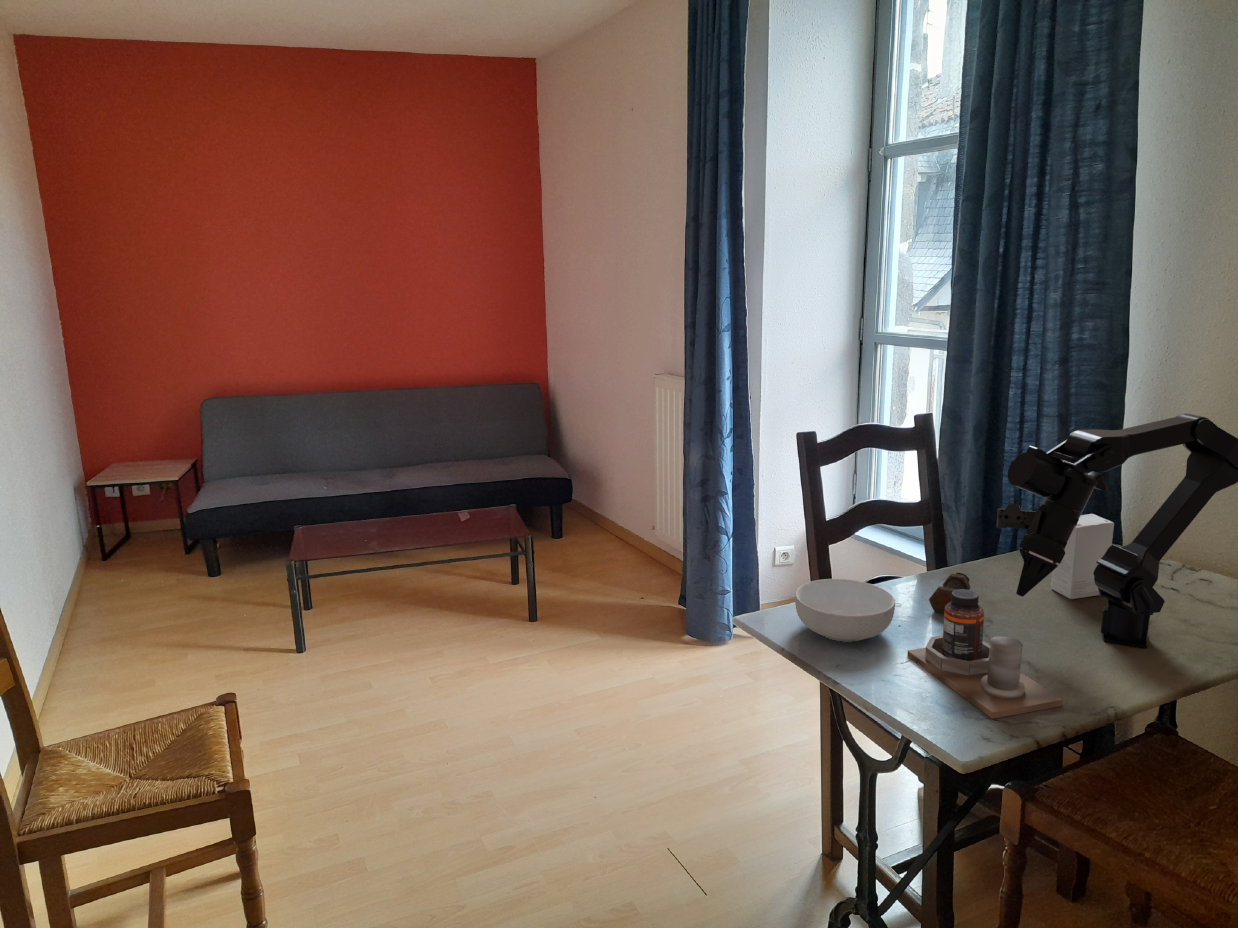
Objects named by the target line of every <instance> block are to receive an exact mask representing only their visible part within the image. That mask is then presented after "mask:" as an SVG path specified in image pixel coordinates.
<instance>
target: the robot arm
mask: <svg viewBox="0 0 1238 928" xmlns="http://www.w3.org/2000/svg"><path fill="white" fill-rule="evenodd" d="M1181 445H1182V446H1183V448H1184V449H1186V450H1187V451H1188V452H1189V453H1190V454H1189V455H1188V457H1187V459H1186V464H1185V465H1186V466H1185V476H1184V477H1183V478H1182V480H1181V481H1180V482H1179V483H1178V485H1177V486H1176V487H1175V488H1174V490H1173V491H1172V492H1171V493H1170V494H1169V496H1168V497H1167V498H1166V499H1165V501H1164V502H1163V503H1162V505H1160V507H1159V508H1158V510H1156V512H1155V513H1154V514H1153V516H1152V517H1151V518H1150V519H1149V520H1148V521H1147V523H1145V525H1144V527H1143V528H1142V529H1141V530H1140V531H1139V532H1138V534H1137V535H1136V536H1135V537H1134V538H1133V540H1132V541H1131V542H1130V543H1129V544H1127V545H1124V546H1122V547H1120V546H1118V545H1115V544H1112V545H1111V546H1110V547H1109V548H1108V550H1107V551H1106V553H1105V554H1104V556H1103V557H1102V558H1101V559H1099V560H1098V561H1096V563H1098V565H1097V567H1096V568H1095V570H1094V573H1093V575H1094V581H1095V584H1096V586H1097V587H1098V590H1099V595H1098V596H1099V597H1102V598H1105V600H1107V605H1103V607H1102V615H1101V624H1100V634H1103V636H1102V640H1103V641H1104V642H1108V643H1114V644H1119V645H1120V644H1121V645H1126V646H1127V645H1128V646H1133V647H1139V648H1142V649H1143V648H1144V649H1147V648H1148V647H1149V640H1148V639H1149V638H1148V635H1149V629H1150V619H1151V616H1153V615H1154V614H1155V613H1157V614H1158V613H1161V611H1162V608H1163V607H1164V605H1165V599H1164V598H1163V597H1162V595H1161V594H1160V593H1158V591H1156V589H1155V588H1154V587H1155V584H1156V583H1157V582H1158V579H1159V571H1160V570H1159V569H1160V562H1161V560H1162V559H1163V558H1164V556H1165V555H1166V554H1167V553H1168V551H1169V550H1170V549H1171V548H1172V546H1173V545H1174V544H1175V543H1176V542H1177V541H1178V539H1179V538H1180V537H1181V536H1182V534H1183V533H1184V532H1185V531H1186V529H1187V528H1188V527H1189V526H1190V525H1191V524H1192V522H1193V521H1194V520H1195V518H1196V517H1197V516H1198V515H1199V513H1200V512H1201V511H1202V510H1203V508H1204V507H1205V506H1206V505H1207V504H1208V502H1209V501H1210V500H1211V499H1212V498H1213V496H1214V495H1215V494H1216V493H1218V492H1220V491H1222V490H1225V489H1227V488H1229V487H1232V486H1234V485H1236V484H1237V483H1238V438H1237V437H1236V436H1234V435H1232V434H1231V433H1230V432H1227V431H1226V430H1224V429H1222V428H1221V427H1219V426H1218V425H1217V424H1215V423H1214V421H1212V420H1210V419H1209V418H1208V417H1206V416H1201V415H1196V414H1191V413H1181V414H1178V415H1176V416H1175V417H1174V416H1173V417H1169V418H1165V419H1161V420H1156V421H1152V422H1149V423H1142V424H1140V425H1134V426H1129V427H1126V428H1122V429H1113V430H1111V429H1078V430H1075V431H1073V432H1071V433H1070V434H1068V438H1067V439H1066V440H1064V441H1063V442H1061V443H1059V444H1058V445H1056V446H1054V447H1053V448H1051V449H1050V450H1048V451H1047V452H1046V451H1045V450H1043V449H1041V448H1038V447H1036V446H1032V445H1029V446H1028V448H1027V449H1026V451H1025V452H1023V453H1021V454H1019V455H1018V456H1016V457H1015V458H1014V460H1012V461H1011V463H1010V465H1009V466H1008V471H1007V479H1008V482H1009V484H1011V485H1012V486H1014V487H1016V488H1019V489H1021V490H1024V491H1026V492H1028V493H1031V494H1033V495H1036V496H1039V497H1041V498H1045V499H1044V500H1043V503H1042V504H1041V505H1038V507H1037V509H1036V511H1035V510H1034V511H1033V510H1022V509H1021V507H1020V505H1019V504H1014V503H1008V504H1007V506H1005V507H1006V508H997V516H996V517H997V518H996V528H997V529H1007V528H1010V529H1021V530H1022V529H1023V530H1026V532H1025V533H1026V534H1024V536H1023V538H1022V540H1021V542H1020V544H1019V548H1018V551H1019V553H1020V557H1022V561H1023V565H1022V568H1021V574H1020V575H1019V576H1020V577H1019V581H1018V584H1017V588H1016V595H1018V596H1020V597H1024V596H1026V595H1027V594H1028V593H1029V592H1030V591H1031V590H1032V589H1034V588H1035V587H1036V586H1037V585H1039V583H1041V582H1042V581H1043V580H1044V579H1045V578H1046V577H1047V576H1048V575H1050V574H1052V571H1053V570H1054V569H1056V568H1057V567H1058V564H1056V563H1059V564H1060V563H1061V561H1062V559H1063V557H1064V555H1065V550H1064V549H1065V547H1066V545H1067V542H1068V540H1069V538H1070V536H1071V534H1072V532H1073V530H1074V528H1075V526H1076V525H1077V523H1078V521H1079V518H1080V516H1081V515H1082V514H1083V511H1084V510H1085V508H1086V506H1087V503H1088V502H1089V499H1090V497H1091V496H1092V494H1093V492H1094V489H1097V490H1100V491H1102V492H1106V491H1107V490H1108V487H1107V484H1106V482H1105V481H1104V477H1103V474H1102V473H1105V472H1108V471H1111V470H1113V469H1115V468H1117V467H1119V466H1122V465H1123V464H1124V463H1126V461H1127V460H1128V459H1129V458H1132V457H1134V456H1137V455H1142V454H1146V453H1150V452H1151V453H1152V452H1154V451H1158V450H1163V449H1168V448H1172V447H1177V446H1181Z"/></svg>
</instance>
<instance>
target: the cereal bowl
mask: <svg viewBox="0 0 1238 928" xmlns="http://www.w3.org/2000/svg"><path fill="white" fill-rule="evenodd" d="M794 598H795V599H794V600H795V601H794V602H795V609H796V613H797V616H798V618H799V619H800V621H801V622H802V624H803V625H804V626H805V627H807V628H808V629H810V630H811V631H812V632H815V633H816V634H818V635H820V636H823V637H824V636H825V637H824V638H826V639H828V638H829V640H831V639H832V640H831V641H835V640H836V641H835V642H840V641H843V642H842V643H853V642H852V641H855V642H860V641H862V640H867V639H871V638H874V637H876V636H878V635H881V633H883V632H884V631H885V630H886V629H888V627H890V625H891V624H892V621H893V619H894V615H895V609H896V599H895V597H894V596H893V594H892V593H890V592H889V591H888V590H885V589H884V588H882V587H879V586H878V585H875V584H872V583H869V582H865V581H860V580H854V579H849V578H848V579H847V578H826V579H825V578H824V579H817V580H816V579H815V580H811V581H809V582H808V581H807V582H806V583H804V584H801V586H799V587H798V588H797V589H796V591H795V596H794Z"/></svg>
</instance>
